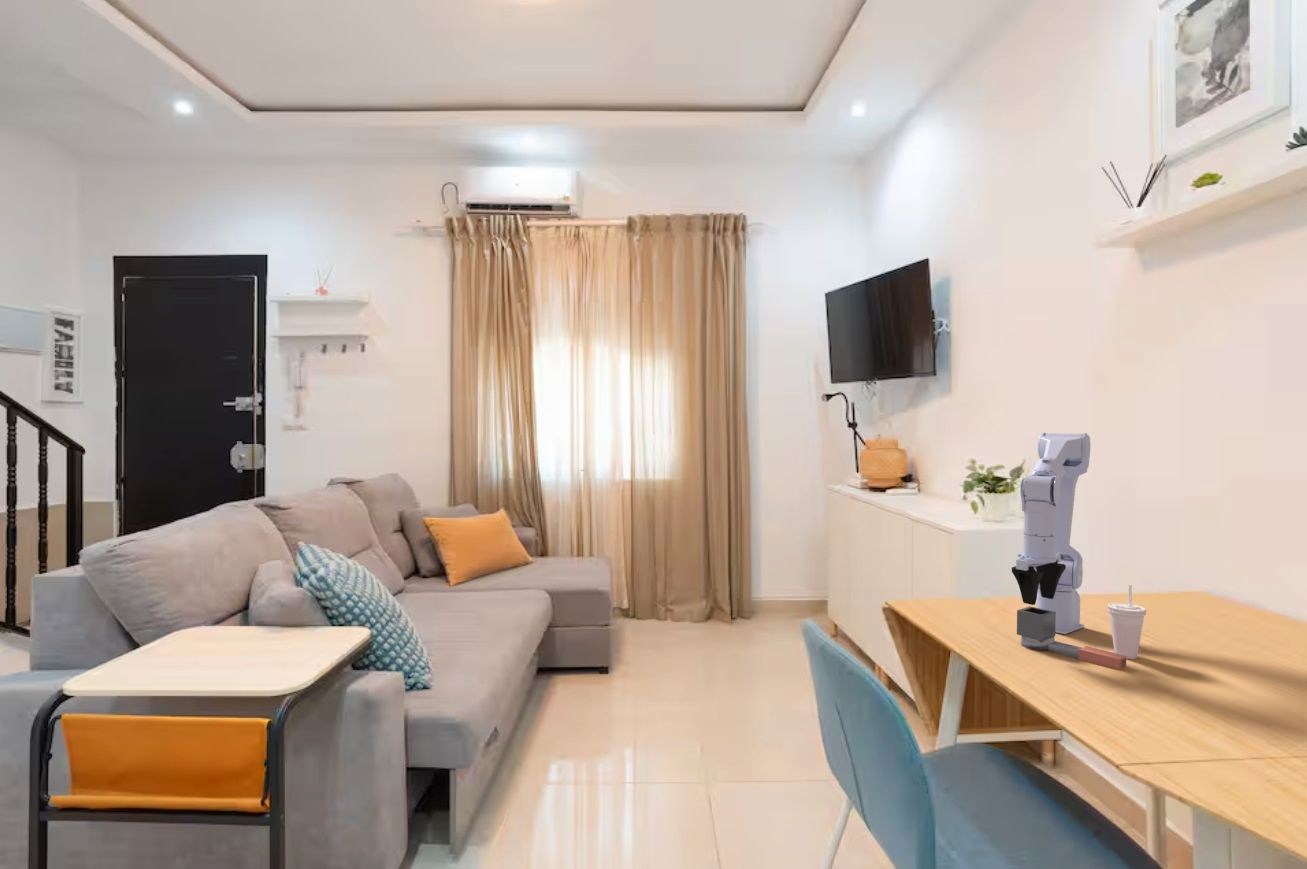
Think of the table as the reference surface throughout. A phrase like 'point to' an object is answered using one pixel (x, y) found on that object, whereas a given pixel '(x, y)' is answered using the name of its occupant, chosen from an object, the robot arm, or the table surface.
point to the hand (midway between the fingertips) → (1038, 600)
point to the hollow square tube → (1036, 623)
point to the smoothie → (1126, 626)
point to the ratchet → (1077, 652)
